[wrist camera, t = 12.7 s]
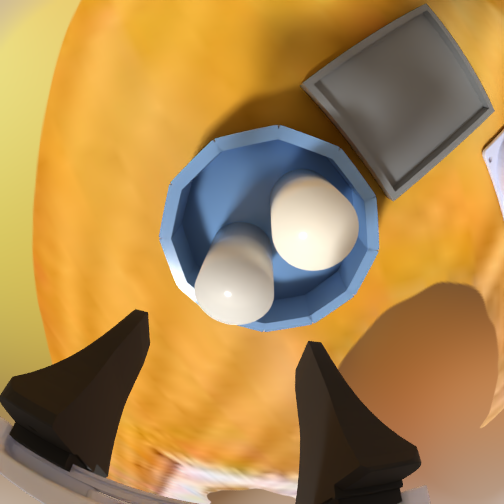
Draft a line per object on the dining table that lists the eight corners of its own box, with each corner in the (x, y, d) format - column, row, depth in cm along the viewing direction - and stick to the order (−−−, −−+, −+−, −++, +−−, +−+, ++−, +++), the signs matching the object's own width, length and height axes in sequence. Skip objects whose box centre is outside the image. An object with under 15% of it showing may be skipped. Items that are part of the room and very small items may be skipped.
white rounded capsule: (343, 181, 18) (371, 204, 13) (321, 238, 20) (339, 279, 15) (280, 160, 17) (287, 175, 12) (261, 221, 19) (260, 258, 14)
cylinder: (283, 241, 20) (289, 282, 15) (253, 286, 22) (249, 335, 17) (228, 211, 19) (215, 244, 14) (201, 260, 21) (183, 304, 16)
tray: (485, 110, 15) (494, 110, 13) (386, 196, 19) (393, 201, 18) (418, 7, 12) (426, 3, 11) (299, 85, 16) (302, 83, 15)
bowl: (392, 233, 20) (411, 252, 17) (262, 327, 24) (261, 355, 21) (278, 87, 16) (281, 79, 13) (143, 218, 20) (123, 236, 17)
